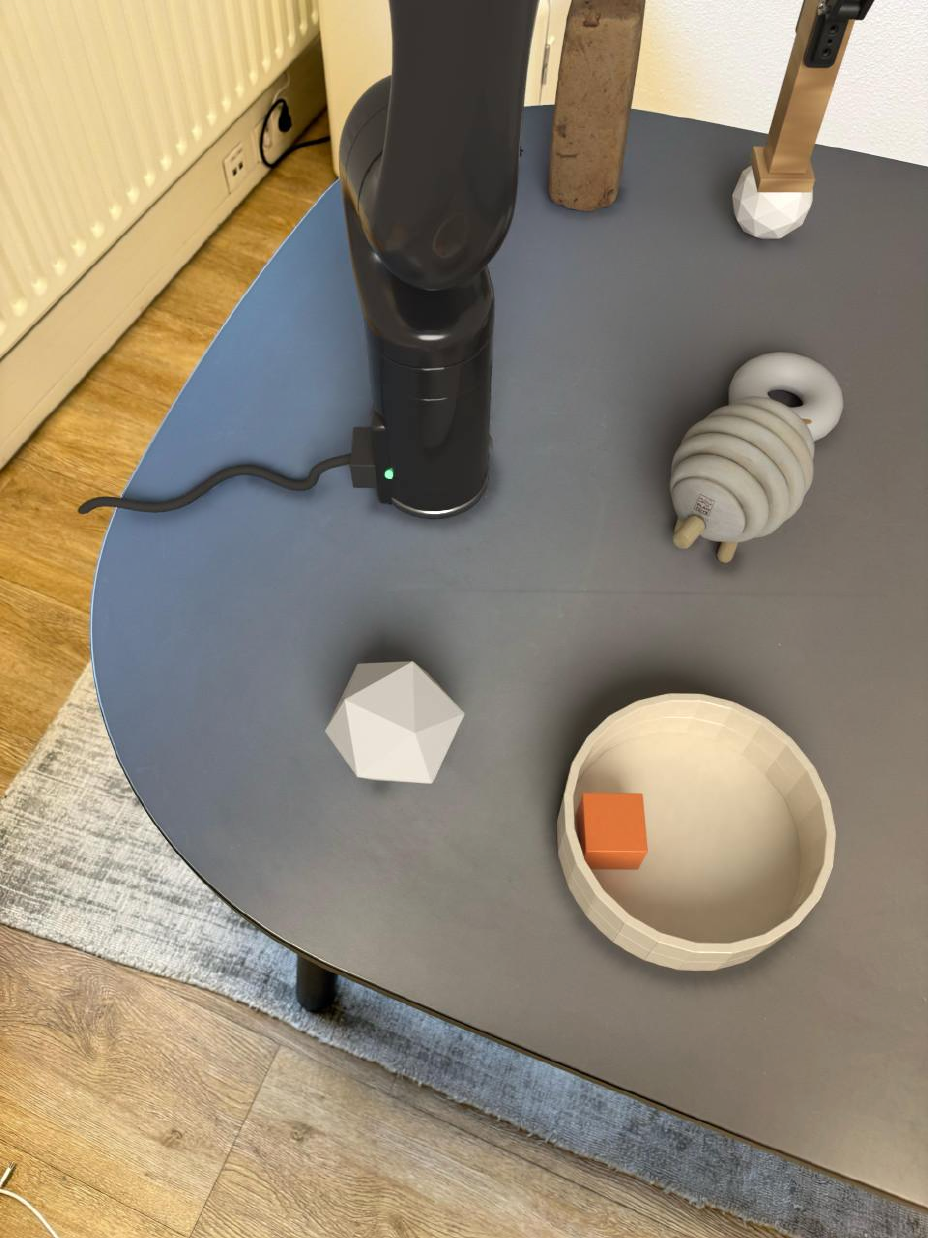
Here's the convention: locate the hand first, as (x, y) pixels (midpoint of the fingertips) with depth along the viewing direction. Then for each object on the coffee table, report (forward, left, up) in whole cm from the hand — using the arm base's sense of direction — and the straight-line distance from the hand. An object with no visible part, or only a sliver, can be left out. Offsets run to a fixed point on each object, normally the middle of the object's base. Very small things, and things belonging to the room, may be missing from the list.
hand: (813, 49), depth 71 cm
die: (-30, -45, -26) cm, 60 cm away
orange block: (-15, -52, -25) cm, 60 cm away
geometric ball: (+5, +13, -26) cm, 29 cm away
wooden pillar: (0, 0, -10) cm, 10 cm away
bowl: (-10, -52, -26) cm, 59 cm away
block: (-13, +20, -26) cm, 35 cm away
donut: (+3, -12, -26) cm, 29 cm away
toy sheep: (-4, -24, -26) cm, 35 cm away
